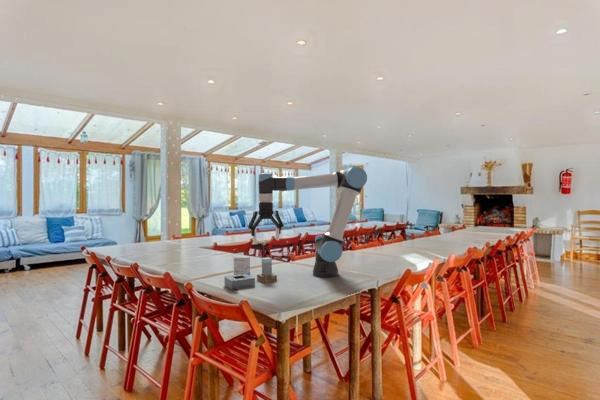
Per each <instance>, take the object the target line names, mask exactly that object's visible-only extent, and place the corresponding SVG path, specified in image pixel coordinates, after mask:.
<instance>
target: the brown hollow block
mask: <svg viewBox="0 0 600 400" xmlns="http://www.w3.org/2000/svg"><path fill="white" fill-rule="evenodd" d="M256 280H257V281H259V282H261V284H266V283H272V282H277V281H278V275H277V274H274V273H272V275H271V276H262V273H257V274H256Z"/></svg>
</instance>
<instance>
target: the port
mask: <svg viewBox="0 0 600 400" xmlns="http://www.w3.org/2000/svg"><path fill="white" fill-rule="evenodd" d="M255 280H256V279H255V277H254V276H252V275H251V274H250V275H248V274H239V275H234V274H233V275H232V274H231V275H224V287H225V288H227V289H229V290H230V291H231V292H236V291H238V290H239V289H243V288H249V287H250V288H251V287H255V286H256V283H255V282H256V281H255Z"/></svg>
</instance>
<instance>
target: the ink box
mask: <svg viewBox="0 0 600 400" xmlns="http://www.w3.org/2000/svg"><path fill="white" fill-rule="evenodd" d="M239 274H248V275H250V276H251V257H250V256H234V257H233V275H239Z"/></svg>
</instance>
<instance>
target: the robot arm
mask: <svg viewBox="0 0 600 400" xmlns="http://www.w3.org/2000/svg"><path fill="white" fill-rule="evenodd" d="M367 181H368V174H367V171H366V170H364V169H363V167H359V166H351V167H349V168H346V169H343V170H338V171H334V172H333V173H326V174H316V175H314V174H313V175H304V176H274V175H273V173H271V172H263V173H259V174H258V211H257V210H254V211H253V212H252V217H251V219H250V222H249V224H248V226H247V229H249V230H251V231H250V233H251V236H252V242H253V243H257V230H256V228H257V227H258V225H259V224H260V222H261V221H263V220H270V221H271V222H272V223H273V224H274V226H276V228H275V240H276V241H280V235H281V229H282V228H283V227H284V223H283V221H282V219H281V217H280V215H279V214H280V213H279V210H276V209H274V204H273V203H274V202H273V199H274V197H273V193H274V191H277V192H278V191H279V192H285V191H287V192H289V191H297V190H307V189H308V190H309V189H318V188H319V189H320V188H322V189H323V188H329V187H330V188H331V187H332V188H333V187H334V188H336V189H338V188H339V189H340V190H341V191H340V195H339V197H338V201H337V203H336V207H335V210H334V213H333V214H332V215H333V216H332V218H331V222H330V223H329V224H330V225H329V227H328V231H327V232H324V233H323V235H316V236H315V238H314V239H315V240H314V243H315V262H314V264H313V270H312V276H314V277H319V278H332V277H336V276H338V275H339V270H338V265H337V263H336V261H338V260H340V259H341V258H342V255H343V245H344V242H345V239H344V234H345V231H346V228H347V225H348V222H349V220H350V219H349V218H350V216H351V213H352V210H353V207H354V204H355V200H356V198H357V196H359V195H360V194H361V192H362V191H363V190H362V189H363V187H364V186H365V185H366V184H367ZM273 215H274V216H275V217H274V216H273ZM275 218H276V219H275Z"/></svg>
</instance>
